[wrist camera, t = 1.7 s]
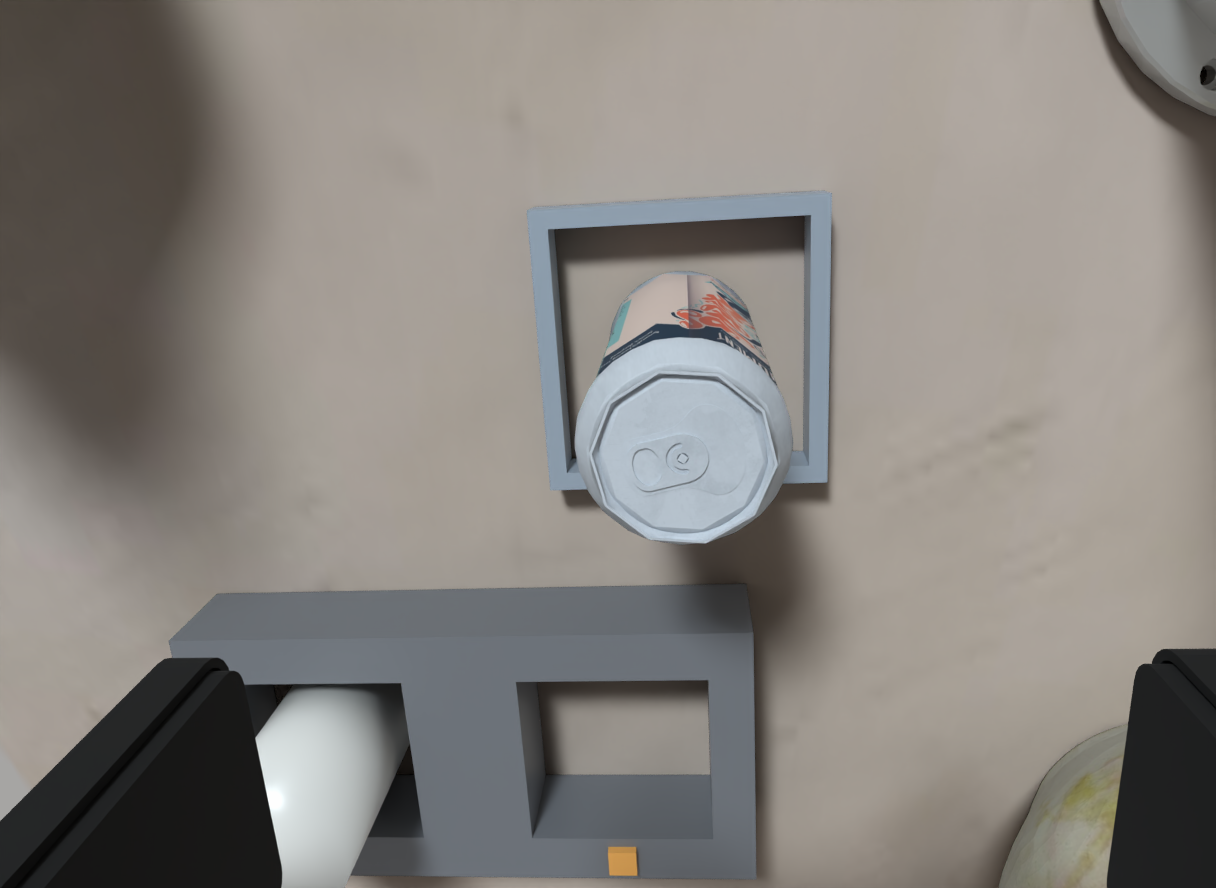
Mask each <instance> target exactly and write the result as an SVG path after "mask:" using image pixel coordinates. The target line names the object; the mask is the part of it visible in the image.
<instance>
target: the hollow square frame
mask: <svg viewBox="0 0 1216 888" xmlns="http://www.w3.org/2000/svg"><path fill="white" fill-rule="evenodd" d="M831 209H832V193H830V192H827V191H808V192H791V193H773V194H756V195H738V196H721V197H703V198H686V199H668V200H650V201H633V202H615V203H598V204H580V205H563V206H545V207H533V208H531V209H529V210H527V219H528V231H529V243H530V254H531V266H532V278H533V290H534V302H535V314H536V325H537V337H538V349H539V361H540V373H541V385H542V396H543V408H544V420H545V432H546V444H547V456H548V467H549V479H550V490H579V489H587V487H586V485H585V483H584V481H583V478H582V476H581V474H580V471H579V467H578V462H577V458H572V455H571V441H570V428H569V415H568V402H567V389H566V376H565V362H564V349H563V336H562V323H561V310H560V296H559V283H558V270H557V257H556V244H555V231H554V229H564V228H582V227H600V226H618V225H637V224H655V223H673V222H692V221H710V220H728V219H746V218H765V217H783V216H801V215H805V252H804V405H803V451H792V453H791V460H790V467H789V470H788V473H787V475H786V477H785V479H784V481H783V483H782V484H788V483H823V482H827V471H828V406H829V340H830V275H831Z"/></svg>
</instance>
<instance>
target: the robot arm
mask: <svg viewBox="0 0 1216 888" xmlns="http://www.w3.org/2000/svg"><path fill="white" fill-rule="evenodd" d="M1100 4H1101V6H1102V8H1103V10H1104V12H1105V14H1106V16H1107V18H1108V21H1109V23H1110V25H1111V27H1112V29H1113V31H1114V33H1115V35H1116V38H1117V40H1118V41H1119V43H1120V44H1121V45H1122V47H1123V48H1124V49H1125V50H1126V52H1127V53H1128V54H1129V56H1130V57H1131V58H1132V59H1133V61H1134V62H1135V63H1136V65H1137V66H1138V67H1139V68H1140V70H1141V71H1142V72H1143V73H1144V74H1145V75H1146V76H1148V77H1149V78H1150V79H1151V80H1153V81H1154V82H1155V83H1156V84H1157V85H1159V86H1160V87H1161V88H1162V89H1164V90H1165V91H1166V92H1167V93H1169V94H1170V95H1171V96H1172V97H1174V98H1176V99H1178V100H1180V101H1182V102H1184V103H1186V104H1188V105H1190V106H1192V107H1194V108H1196V109H1198V110H1200V111H1202V112H1204V113H1206V114H1208V115H1212V116H1216V0H1100ZM1202 67H1204V68H1205V69H1206V70H1207V78H1206V81H1205V82H1204V83H1203V84H1201V82H1200V73H1201V70H1202ZM281 886H282V865H281V860H280V855H279V851H278V846H277V841H276V836H275V831H274V826H273V821H272V817H271V812H270V807H269V802H268V797H267V792H266V787H265V783H264V778H263V773H262V768H261V763H260V758H259V753H258V749H257V744H256V739H255V734H254V729H253V724H252V719H251V715H250V710H249V705H248V700H247V695H246V690H245V685H244V682H243V679H242V677H241V675H240V674H239V673H238V672H236V671H229V668H228V666H227V664H226V663H225V662H224V660H222V659H220V658H218V657H216V658H167V659H164V660H163V661H161V662H160V663H158V664H157V665H156V666H155V667H154V668H153V669H152V670H151V671H150V672H149V673H148V674H147V675H146V676H145V677H144V678H143V679H142V680H141V681H140V682H139V683H138V684H137V685H136V686H135V687H134V688H133V689H132V690H131V691H130V692H129V693H128V694H127V695H126V696H125V697H124V698H123V699H122V700H121V701H120V702H119V703H118V704H117V705H116V706H115V707H114V708H113V709H112V710H111V711H110V712H109V713H108V714H107V715H106V716H105V717H104V718H103V719H102V720H101V721H100V722H99V723H98V724H97V725H96V726H95V727H94V728H93V729H92V730H91V731H90V732H89V733H88V734H87V735H86V736H85V737H84V738H83V739H82V740H81V741H80V742H79V743H78V744H77V745H76V746H75V747H74V748H73V749H72V750H71V751H70V752H69V753H68V754H67V755H66V756H65V757H64V758H63V759H62V760H61V761H60V762H59V763H58V764H57V765H56V766H55V767H54V768H53V769H52V770H51V771H50V772H49V773H48V774H47V775H46V776H45V777H44V778H43V779H42V780H41V781H40V782H39V783H38V784H37V785H36V786H35V787H34V788H33V789H32V790H31V791H30V792H29V793H28V794H27V795H26V796H25V797H24V798H23V799H22V800H21V801H20V802H19V803H18V804H17V805H16V806H15V807H14V808H13V809H12V810H11V811H10V812H9V813H8V814H7V815H6V816H5V817H4V818H3V819H2V820H1V821H0V888H281ZM1107 888H1216V649H1162V650H1161V651H1159V652H1157V654H1156V655H1155V657H1154V659H1153V661H1152V664H1143V665H1141V666H1139V668H1138V670H1137V671H1136V675H1135V679H1134V686H1133V693H1132V700H1131V707H1130V714H1129V721H1128V729H1127V736H1126V743H1125V750H1124V757H1123V764H1122V772H1121V779H1120V786H1119V793H1118V800H1117V807H1116V815H1115V822H1114V829H1113V836H1112V843H1111V850H1110V858H1109V865H1108V872H1107Z"/></svg>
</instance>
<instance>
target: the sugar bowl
mask: <svg viewBox="0 0 1216 888" xmlns="http://www.w3.org/2000/svg"><path fill="white" fill-rule="evenodd" d="M1127 729H1128V724H1127V725H1123V726H1119V727H1116V728H1112V729H1110V730H1107V731H1105V732H1102V733H1100V734H1097V735H1095V736H1093V737H1091V738H1090V739H1088V740H1086V741H1084V742H1083V743H1081V744H1079V745H1078V746H1076V747H1075V748H1074V749H1072V750H1071V751H1070V752H1068V753H1067V754H1066V755H1065V756H1064V757H1063V758H1062V759H1060V760H1059V761H1058V762H1057V763H1056V764H1055V765H1054V766H1053V768H1052V769H1051V770H1050V771H1049V772H1048V773H1047V775H1046V776H1045V778H1044V779H1043V781H1042V783H1041V785H1040V787H1039V790H1038V792H1037V794H1036V796H1035V798H1034V800H1033V803H1032V806H1031V809H1030V812H1029V814H1028V816H1027V818H1026V820H1025V822H1024V824H1023V825H1022V827H1021V829H1020V831H1019V833H1018V835H1017V837H1016V839H1015V841H1014V843H1013V846H1012V848H1011V851H1010V853H1009V856H1008V859H1007V861H1006V864H1005V866H1004V869H1003V872H1002V876H1001V880H1000V883H999V887H998V888H1107V872H1108V865H1109V858H1110V850H1111V843H1112V836H1113V829H1114V822H1115V815H1116V807H1117V800H1118V793H1119V786H1120V779H1121V772H1122V764H1123V757H1124V750H1125V743H1126V736H1127Z"/></svg>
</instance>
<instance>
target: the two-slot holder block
mask: <svg viewBox="0 0 1216 888" xmlns="http://www.w3.org/2000/svg"><path fill="white" fill-rule="evenodd" d="M169 645H170V649H171V654H172V658H216V657H218V658H220V659H222V660H224V662H225V663H226V664H227V666H228V668H229V671H236V672H238V673H239V674H240V675H241V677H242V679H243V682H244V685H245V690H246V695H247V700H248V705H249V710H250V715H251V719H252V724H253V729H254V734H255V739H256V744H257V749H258V753H259V758H260V763H261V768H262V773H263V778H264V783H265V787H266V792H267V797H268V802H269V807H270V812H271V817H272V821H273V826H274V831H275V836H276V841H277V846H278V851H279V855H280V860H281V865H282V886H281V888H345V886H346V884H347V881H348V879H349V877H350V875H356V876H456V877H556V878H656V879H756V807H755V723H754V640H753V627H752V620H751V613H750V606H749V599H748V592H747V586H746V584H709V585H656V586H603V587H550V588H498V589H445V590H392V591H339V592H286V593H234V594H216V595H215V596H214V597H213V598H212V599H211V600H210V601H209V602H208V603H207V604H206V605H205V606H204V607H203V608H202V609H201V610H200V611H199V612H198V613H197V614H196V615H195V616H194V617H193V618H192V619H191V620H190V621H189V622H188V623H187V624H186V625H185V626H184V627H183V628H182V629H181V630H180V631H179V632H177V633H176V634H175V635H174V636H173V637H172V638H171V639H170V640H169ZM668 680H707V683H708V716H709V749H710V775H546V772H545V762H544V751H543V741H542V730H541V720H540V710H539V699H538V689H537V682H563V681H668ZM273 684H294V685H293V686H292V687H291V689H290V690H289V692H288V693H287V694H286V696H285V697H284V699H283V700H282V701H281V703H280V704H279V706H278V707H277V702H276V697H275V692H274V687H273ZM409 744H410V747H411V754H412V760H413V767H414V774H415V775H396V773H397V770H398V768H399V766H400V764H401V762H402V759H403V757H404V755H405V753H406V751H407V748H408V746H409Z"/></svg>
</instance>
